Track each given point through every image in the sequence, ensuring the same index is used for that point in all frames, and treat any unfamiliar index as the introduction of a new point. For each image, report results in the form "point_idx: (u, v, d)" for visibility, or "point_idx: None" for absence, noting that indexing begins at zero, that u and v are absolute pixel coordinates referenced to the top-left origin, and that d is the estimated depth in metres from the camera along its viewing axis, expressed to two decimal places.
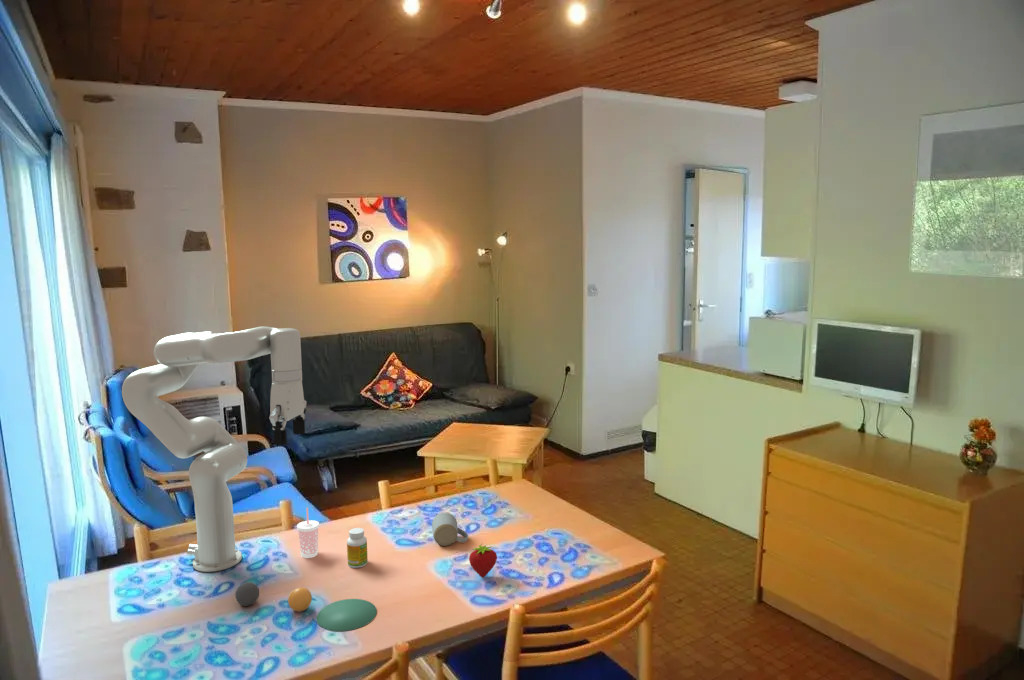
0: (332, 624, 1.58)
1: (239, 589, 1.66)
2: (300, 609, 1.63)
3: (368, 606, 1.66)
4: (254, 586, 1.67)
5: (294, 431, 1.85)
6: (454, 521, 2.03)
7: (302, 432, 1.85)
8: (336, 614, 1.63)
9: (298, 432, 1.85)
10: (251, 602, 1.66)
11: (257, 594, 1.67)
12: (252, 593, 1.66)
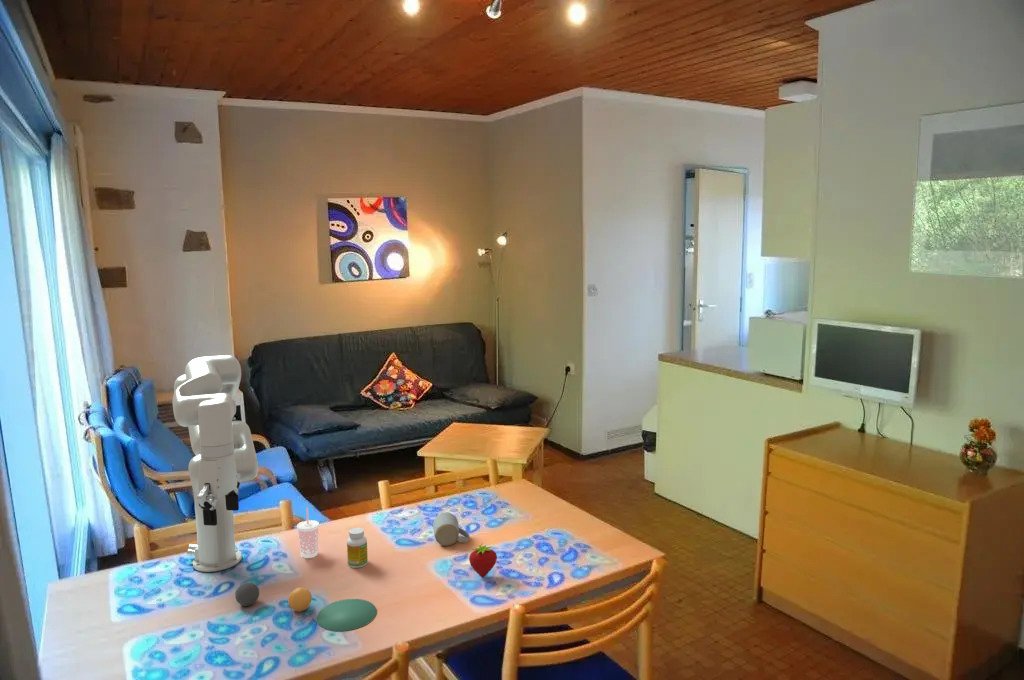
0: (332, 624, 1.58)
1: (239, 589, 1.66)
2: (300, 609, 1.63)
3: (368, 606, 1.66)
4: (254, 586, 1.67)
5: (227, 507, 1.73)
6: (455, 521, 2.03)
7: (235, 508, 1.72)
8: (336, 614, 1.63)
9: (231, 508, 1.73)
10: (251, 602, 1.66)
11: (257, 594, 1.67)
12: (252, 593, 1.66)
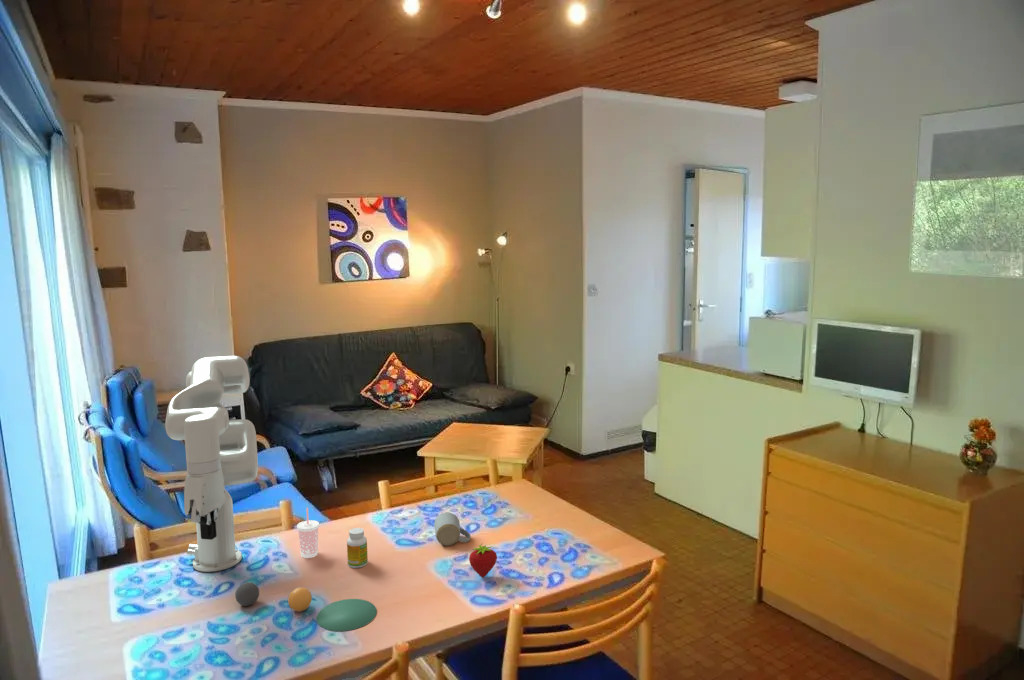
0: (332, 624, 1.58)
1: (239, 589, 1.66)
2: (300, 609, 1.63)
3: (368, 606, 1.66)
4: (254, 586, 1.67)
5: None
6: (456, 521, 2.03)
7: None
8: (336, 614, 1.63)
9: None
10: (251, 602, 1.66)
11: (257, 594, 1.67)
12: (252, 593, 1.66)
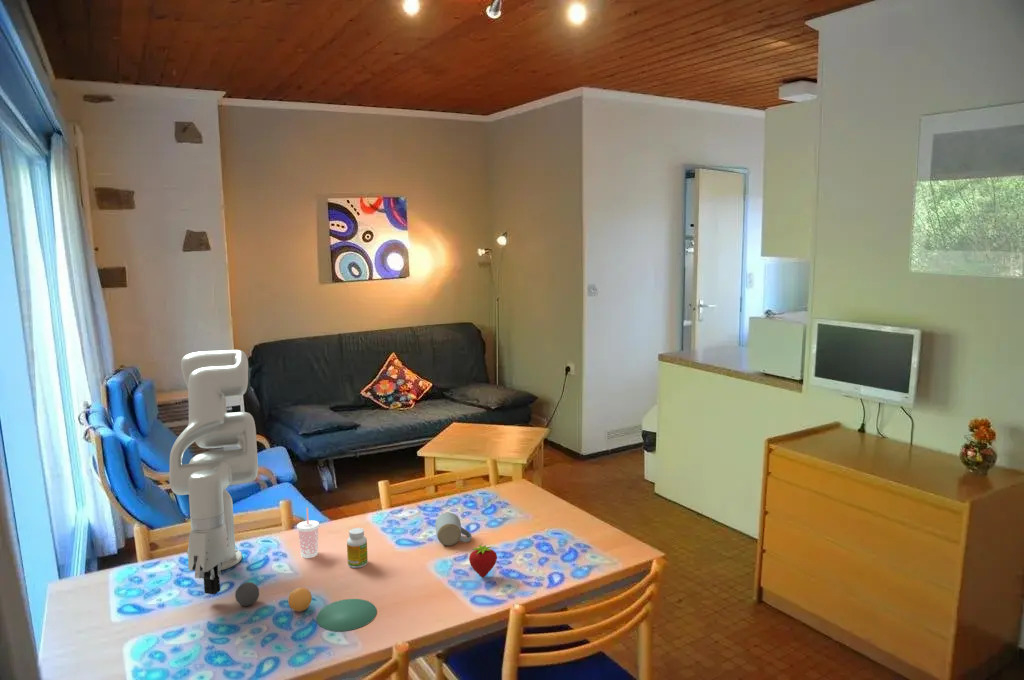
0: (332, 624, 1.58)
1: (239, 589, 1.66)
2: (300, 609, 1.63)
3: (368, 606, 1.66)
4: (254, 586, 1.67)
5: None
6: (458, 521, 2.03)
7: (216, 589, 1.68)
8: (336, 614, 1.63)
9: None
10: (251, 602, 1.66)
11: (257, 594, 1.67)
12: (252, 593, 1.66)
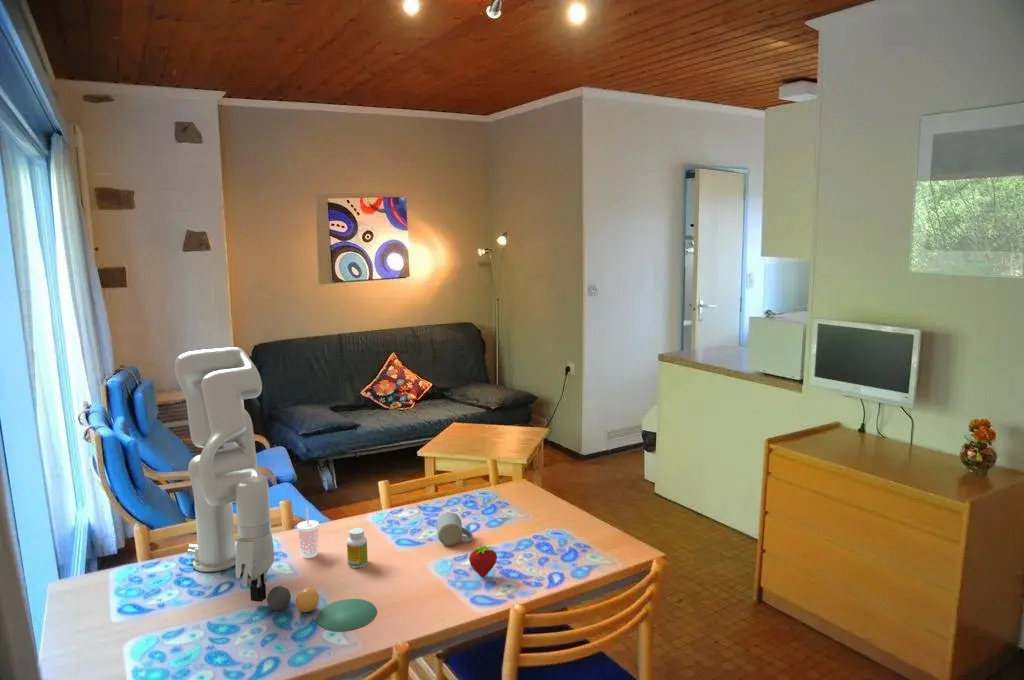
0: (332, 624, 1.58)
1: (280, 608, 1.64)
2: (303, 611, 1.63)
3: (368, 606, 1.66)
4: None
5: None
6: (459, 521, 2.03)
7: None
8: (336, 614, 1.63)
9: None
10: (267, 597, 1.64)
11: None
12: None
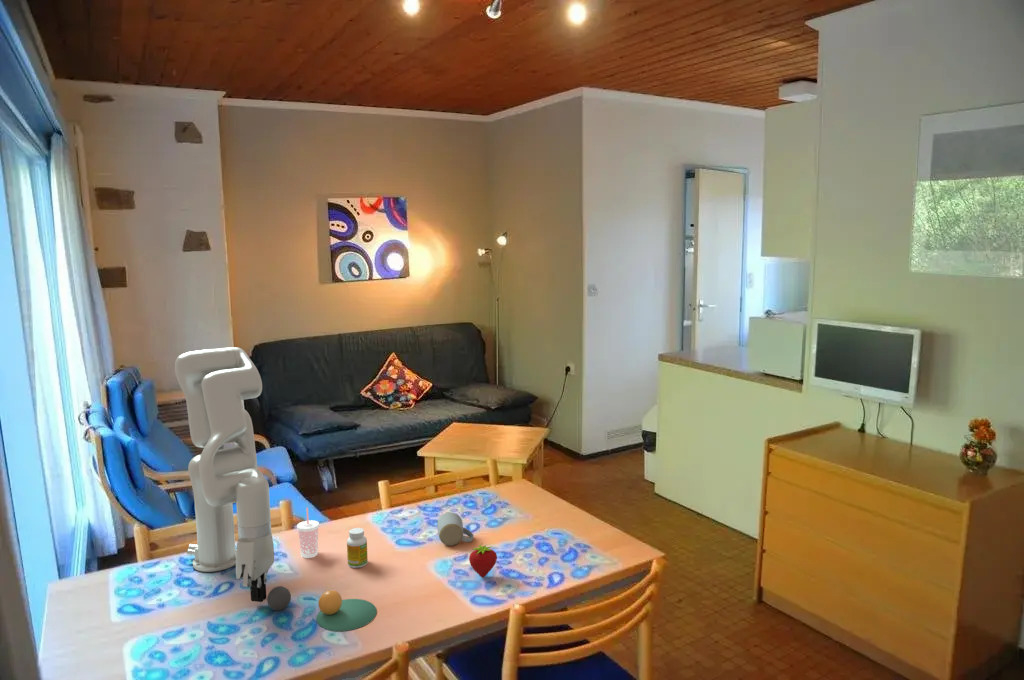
0: (332, 624, 1.58)
1: (280, 608, 1.64)
2: (320, 602, 1.62)
3: (368, 606, 1.66)
4: None
5: None
6: (459, 521, 2.03)
7: None
8: (336, 614, 1.63)
9: None
10: (267, 597, 1.64)
11: None
12: None
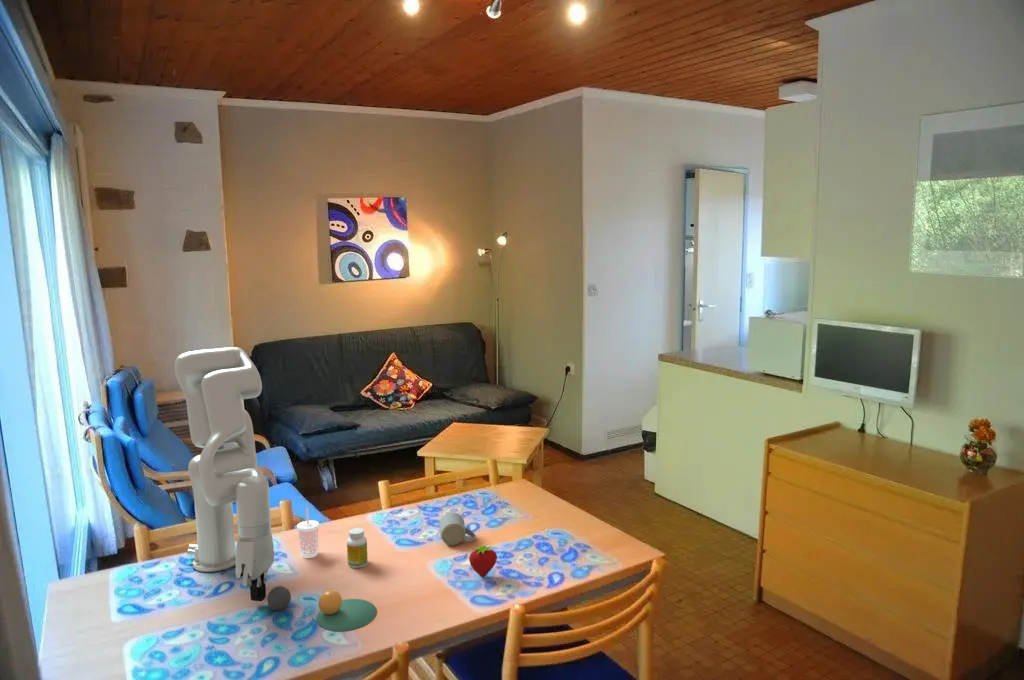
0: (332, 624, 1.58)
1: (280, 608, 1.64)
2: (320, 602, 1.62)
3: (368, 606, 1.66)
4: None
5: None
6: (461, 521, 2.03)
7: None
8: (336, 614, 1.63)
9: None
10: (267, 597, 1.64)
11: None
12: None
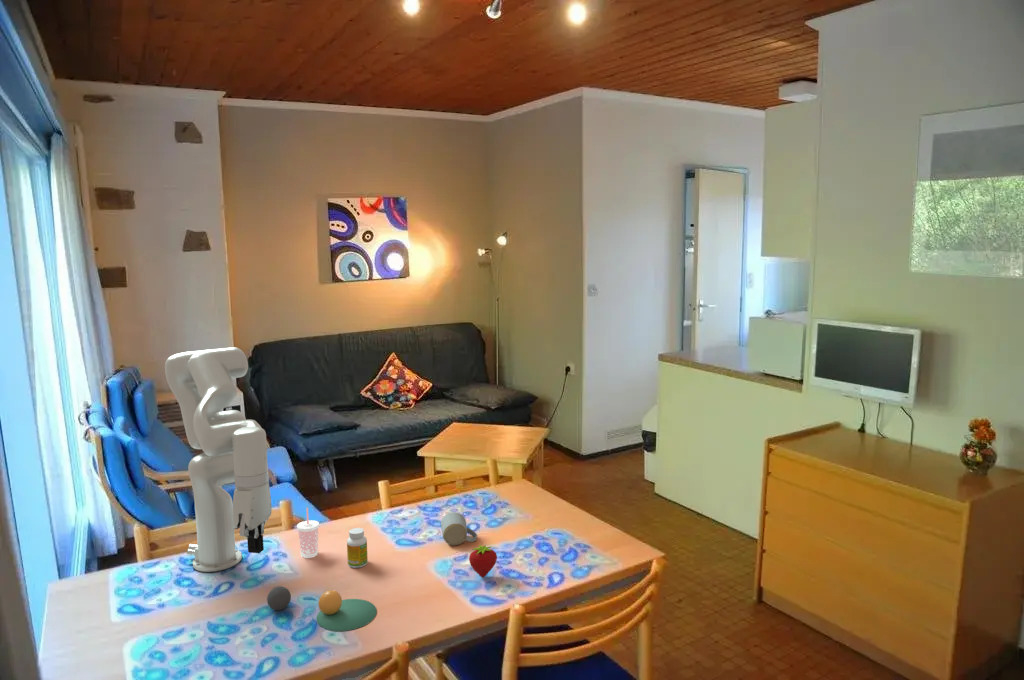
0: (332, 624, 1.58)
1: (280, 608, 1.64)
2: (320, 602, 1.62)
3: (368, 606, 1.66)
4: None
5: None
6: (463, 521, 2.03)
7: None
8: (336, 614, 1.63)
9: None
10: (267, 597, 1.64)
11: None
12: None
